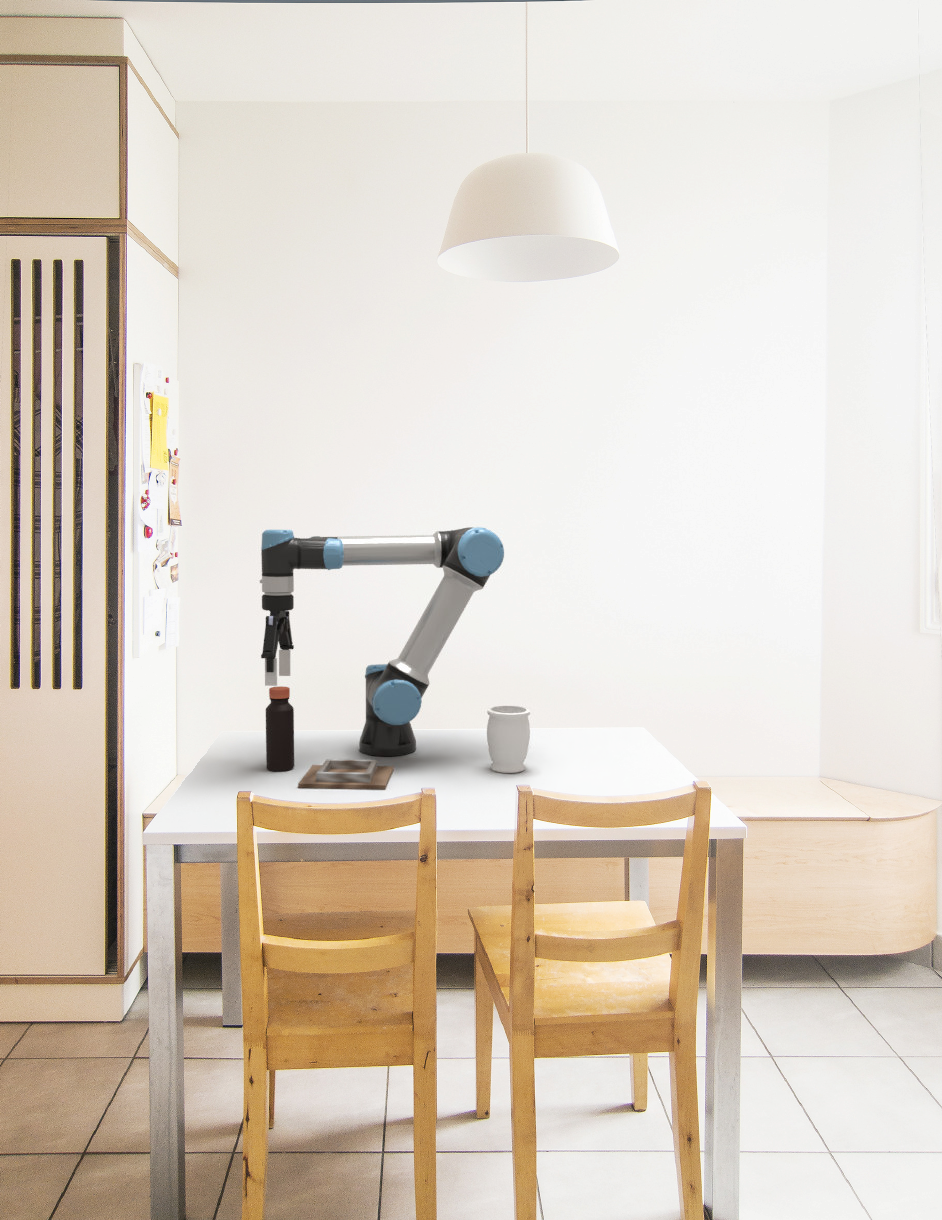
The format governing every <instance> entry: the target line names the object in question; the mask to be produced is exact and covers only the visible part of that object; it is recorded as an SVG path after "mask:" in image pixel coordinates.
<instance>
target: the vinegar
mask: <svg viewBox="0 0 942 1220" xmlns="http://www.w3.org/2000/svg"><path fill="white" fill-rule="evenodd" d="M290 690H291V689H290V687H288V686H270V687H269V688H268V695H269V696H268V697H269V700H270V703H269V704H268V705H267V706H266V707H265V751H266V753H265V754H266V755H265V756H266V758H265V762H266V764H265V766H266V767H265V768H266V769H267V770H268V771H270V772H278V773H279V772H287V771H288V772H289V771H291V770H293V769H294V768H295V708H294V707H293V705H292V704H291V703H290V702H289V700H290V696H291V693H290Z"/></svg>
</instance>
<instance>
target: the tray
mask: <svg viewBox="0 0 942 1220" xmlns="http://www.w3.org/2000/svg"><path fill="white" fill-rule="evenodd" d="M394 770H395V768H394V765H393V766H390V765H378V760H377V759H349V758H348V759H337V758H335V759H333V758H332V759H331V758H326V759H325V761H324V762H323V763H322V764H312V765H311V766H310V767H309V769H308V770H307V772H306V773H305V774H304V776H302V778H301V779H300V781H299V782H298V783H297V787H298V789H330V790H331V789H332V790H333V789H335V790H336V789H337V790H340V789H341V790H380V791H381V790H382V791H383V790H385V791H386V790H387V786H388V784H389V782H390V780H391V777H392V775H393V773H394Z"/></svg>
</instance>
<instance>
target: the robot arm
mask: <svg viewBox="0 0 942 1220" xmlns="http://www.w3.org/2000/svg"><path fill="white" fill-rule="evenodd" d="M260 549H261V550H260V551H261V554H260V555H261V556H260V557H261V579H260V580H259V584H261V592H263V593H264V594H262V595H261V609H262V610H263V611H266V612H267V611H269V615H268V616H267V615H266V616H265V626H264V627H265V628H264V635H263V636H264V637H263V646H262V653H261V655H260V659H264V686H267V687H278V676H279V677H291V650H294V648H295V647H294V646H295V645H294V644H293V638H292V630H291V621H290V611H293V609H294V606H295V605H294V601H295V600H294V598H295V597H294V595H293V594H292V593H294V590H295V588H294V583H295V581H294V579H295V578H294V570H328V571H330V570H340V569H342V568H343V567H344V566H345V567H346V566H350V567H351V566H392V565H393V566H395V565H397V566H398V565H401V566H403V565H408V566H409V565H434V567H436V568H438V569H439V568H440V569H441V568H442V571H443V577H442V579H441V581H440V582H439V585H438V586H437V588H436V590H435V591H434V593H433V595H432V597H431V598H430V600H429V602H428V604H427V606H426V608H425V609H424V611H423V613H422V614H421V616H420V618H419V619H418V621H417V624H416V625H415V627H414V629H413V631H412V632H411V634H410V636H409V638H408V639H407V641H406V642H405V645H404V646H403V648H402V650H401V652H400V654H399V656H398V657H397V658H395V659H392V660H389V661H388V663H383V664H382V663H379V664H370V665H367V666H366V668H365V674H364V679H365V722H364V726H363V728H362V732H361V736H360V738H359V740H358V741H359V742H358V749H359V751H360V753H362V754H365V755H369V756H375V757H395V756H398V757H399V756H404V755H407V754H408V755H409V754H411V753H413V752H416V751H417V739H416V736H415V733H414V730H413V727H412V724H411V721H413V720H414V719H415V718H416V717H417V716H418V714H419V712H420V710H421V707H422V704H423V703H422V698H423V696H424V694H426V691H427V689H428V687H429V686H430V684H431V683H430V680H429V673H430V672H431V669H432V668H433V666H434V664H435V662H437V658H438V657H439V655H440V654H441V652H442V650H443V648H444V646H445V645H446V643H447V641H448V640H449V638H450V636H451V634H452V632H453V630H454V629H455V626H456V625H457V624H458V622H459V620H460V618H461V616H462V614H463V613H464V611H465V609H466V607H467V605H468V604H469V603H470V600H471V598H472V596H473V595H474V593H475V592H477V591H481V590H483V589H484V587H485V585H486V584H487V582H488V580H489V578H490V577H491V575H493V574H494V573H495V572H496V571H498V570H499V569H500V567H501V565H502V564H503V562H504V558H505V549H504V544H503V542H502V540H501V539H500V537H499V536H498V535H497V534H496V533H495V532H493V531H491V530H490V529H487V528H486V527H481V526H479V527H477V526H476V527H465V528H458V529H454V530H452V529H451V530H440V531H438V530H437V531H435V532H434V533H433V534H429V535H428V534H427V535H421V534H420V535H418V534H417V535H372V536H371V535H364V536H363V535H362V536H361V535H358V536H357V535H356V536H355V535H354V536H318V535H317V536H311V537H309V538H305V537H303V538H302V537H301V538H300V537H295V535H294V531H293V530H292V529H265V530H264V531H263V532H262V534H261V547H260ZM278 645H279V646H278ZM278 647H279V650H278ZM277 651H278V658H277Z"/></svg>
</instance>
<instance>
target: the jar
mask: <svg viewBox="0 0 942 1220" xmlns="http://www.w3.org/2000/svg"><path fill="white" fill-rule="evenodd" d="M487 715H489V717H488V721H487V725H486V740H487V746H488V753H489V756H490V760H491V761H492V763H491V764H490V768H491V770H492V771H494V772H496V773H497V772H498V773H502V774H515V773H520V772H523V771H525V769H526V766H525V764H524V762H525V760H526V758H527V755H528V749H529V744H530V739H531V738H530V737H531V727H530V720H529V716H530V715H531V709H530V708H527V707H523V706H518V705H517V706H515V705H497V706H492V707H489V708H487Z"/></svg>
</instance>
